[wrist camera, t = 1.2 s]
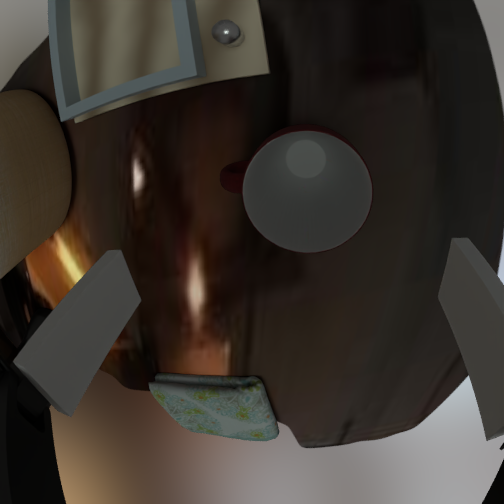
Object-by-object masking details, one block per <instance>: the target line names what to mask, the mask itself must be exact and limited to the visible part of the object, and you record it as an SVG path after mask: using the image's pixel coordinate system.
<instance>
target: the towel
mask: <svg viewBox="0 0 504 504" xmlns="http://www.w3.org/2000/svg"><path fill="white" fill-rule="evenodd" d="M155 381H156V382H149V389H150V391H151V393H152V394H153V396H154V397H155V399H156V400H157V401H158V402H159V403H160V405H161V406H162V407H163V408H164V409H165V410H166V411H167V412H168V413H169V414H170V416H171V417H172V418H173V419H175V420H176V421H177V422H178V423H179V424H181V426H182V427H184V428H186V429H188V430H190V431H192V432H197V433H206V434H211V435H218V436H223V437H228V438H236V439H242V440H250V441H251V440H252V441H268V440H271V439H275V438H276V437H277V436H278V434H279V429H278V424H277V421H276V418H275V416H274V413H273V411H272V408H271V405H270V403H269V400H268V397H267V394H266V391H265V388H264V385H263V383H262V381H261V380H260V379H258V378H257V377H255V376H250V377H235V376H207V375H188V374H175V373H158V374H157V375H156V376H155Z"/></svg>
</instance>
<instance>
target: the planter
mask: <svg viewBox="0 0 504 504" xmlns="http://www.w3.org/2000/svg"><path fill="white" fill-rule="evenodd" d="M71 189H72V173H71V163H70V156H69V151H68V146H67V143H66V139H65V136H64V133H63V130H62V128H61V125H60V123H59V121H58V119H57V117H56V115H55V113H54V112H53V110H52V109H51V107H50V106H49V105H48V103H47V102H46V101H45V100H44V99H43V98H42V97H40V96H39V95H38V94H36V93H34V92H32V91H29V90H25V89H18V90H10V91H6V92H2V93H0V279H1V278H2V277H3V276H4V275H5V274H6V273H8V272H9V271H10V270H11V269H12V268H13V267H14V266H15V265H17V264H18V263H19V262H20V261H21V260H22V259H24V258H25V257H26V256H27V255H28V254H30V253H31V252H32V251H33V250H34V249H36V248H37V247H38V246H39V245H40V244H42V243H43V242H44V241H45V240H47V239H48V238H49V237H50V236H51V235H52V234H54V233H55V232H56V230H57V229H58V228H59V227H60V226H61V224H62V223H63V221H64V219H65V217H66V214H67V212H68V208H69V204H70V199H71Z"/></svg>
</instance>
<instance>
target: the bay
mask: <svg viewBox="0 0 504 504" xmlns="http://www.w3.org/2000/svg"><path fill="white" fill-rule="evenodd" d="M171 2H172V9H173V17H174V24H175V31H176V37H177V44H178V51H179V57H180V63H181V65H180V66H176V67H173V68H169V69H166V70H162V71H159V72H155V73H152V74H149V75H146V76H143V77H140V78H137V79H134V80H131V81H128V82H126V83H123V84H120V85H118V86H115V87H112V88H110V89H107V90H105V91H102V92H100V93H98V94H95V95H93V96H91V97H88V98H86V99H84V100H82V101H81V99H80V93H79V87H78V81H77V74H76V67H75V60H74V51H73V41H72V30H71V15H70V0H48V24H49V42H50V53H51V63H52V71H53V79H54V86H55V92H56V98H57V104H58V109H59V114H60V119H61V122H62V121H66V120H69V119H73V118H76V117H79V116H81V115H83V114H86V113H88V112H91V111H93V110H96V109H98V108H101V107H103V106H106V105H109V104H111V103H114V102H117V101H120V100H122V99H125V98H128V97H131V96H134V95H137V94H141V93H144V92H147V91H150V90H154V89H157V88H161V87H164V86H168V85H172V84H176V83H180V82H184V81H188V80H192V79H197V78H201V77H206V76H207V75H206V69H205V63H204V57H203V50H202V44H201V38H200V31H199V25H198V18H197V11H196V5H195V0H171Z"/></svg>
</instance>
